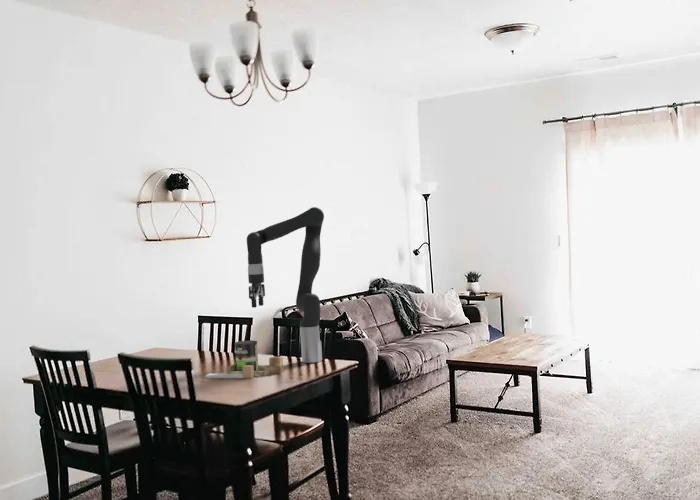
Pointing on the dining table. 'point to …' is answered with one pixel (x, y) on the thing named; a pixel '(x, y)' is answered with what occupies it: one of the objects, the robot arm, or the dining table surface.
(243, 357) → the coffee can
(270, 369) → the frame
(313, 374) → the dining table surface
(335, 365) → the dining table surface
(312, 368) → the dining table surface
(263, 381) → the dining table surface
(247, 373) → the empty strip
